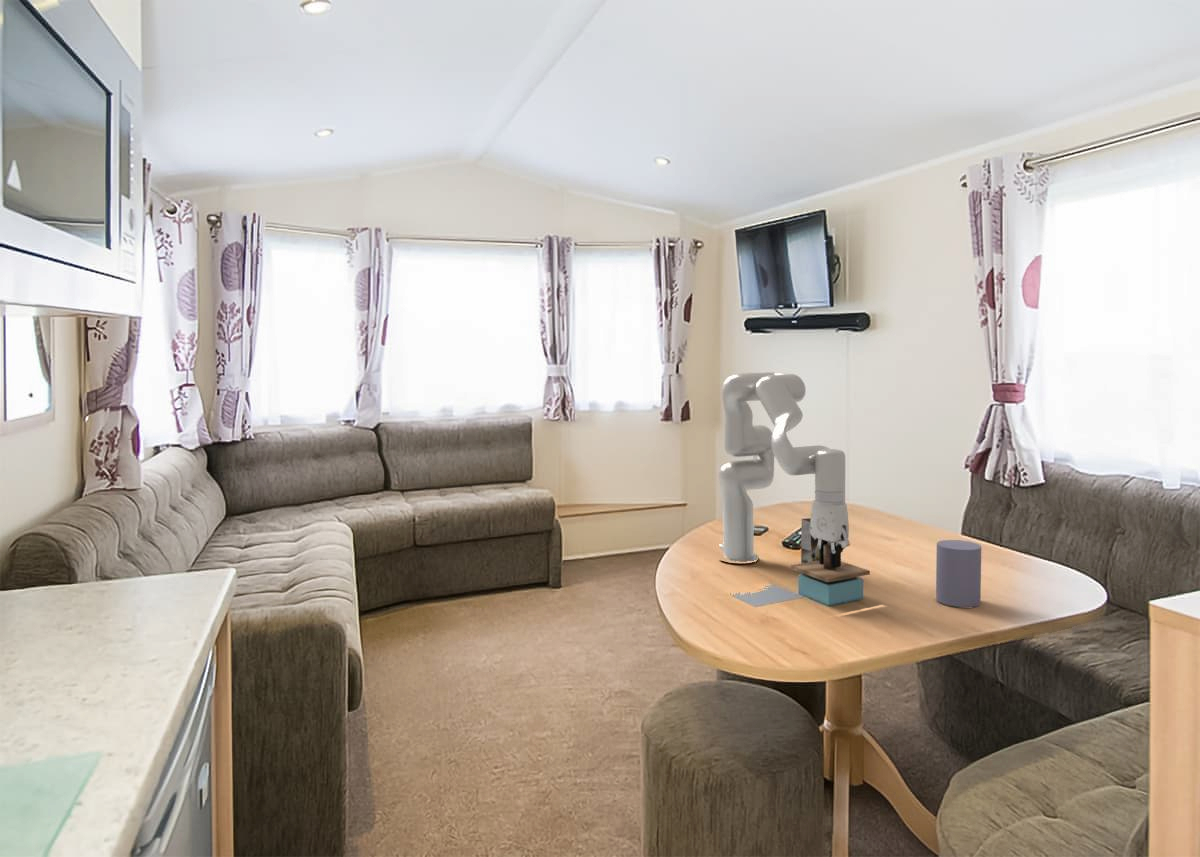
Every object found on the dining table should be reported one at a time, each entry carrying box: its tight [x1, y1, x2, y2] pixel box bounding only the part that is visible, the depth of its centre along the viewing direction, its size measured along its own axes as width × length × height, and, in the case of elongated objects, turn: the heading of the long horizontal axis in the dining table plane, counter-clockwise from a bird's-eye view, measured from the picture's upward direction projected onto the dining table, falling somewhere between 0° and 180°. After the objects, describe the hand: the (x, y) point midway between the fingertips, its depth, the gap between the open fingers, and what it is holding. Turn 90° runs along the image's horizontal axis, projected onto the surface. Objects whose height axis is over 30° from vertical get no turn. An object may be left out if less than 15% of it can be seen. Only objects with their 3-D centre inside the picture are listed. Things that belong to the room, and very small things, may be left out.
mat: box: [729, 583, 805, 608], centre depth 203 cm, size 16×16×1 cm
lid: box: [790, 544, 871, 582], centre depth 198 cm, size 14×14×7 cm
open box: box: [797, 573, 864, 607], centre depth 199 cm, size 12×12×6 cm
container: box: [935, 539, 982, 608], centre depth 193 cm, size 10×10×15 cm
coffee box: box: [800, 517, 838, 564], centre depth 223 cm, size 9×6×16 cm
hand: (830, 564), depth 199 cm, fingers closed on lid, 3 cm apart
